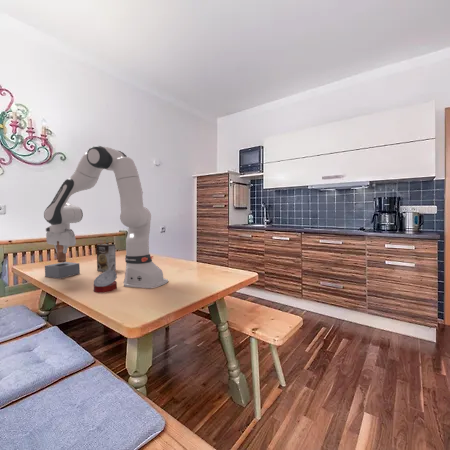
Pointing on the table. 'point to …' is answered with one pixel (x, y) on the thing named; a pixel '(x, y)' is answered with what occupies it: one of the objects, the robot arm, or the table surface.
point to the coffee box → (106, 257)
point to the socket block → (62, 270)
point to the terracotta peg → (60, 253)
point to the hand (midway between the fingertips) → (61, 252)
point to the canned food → (105, 282)
